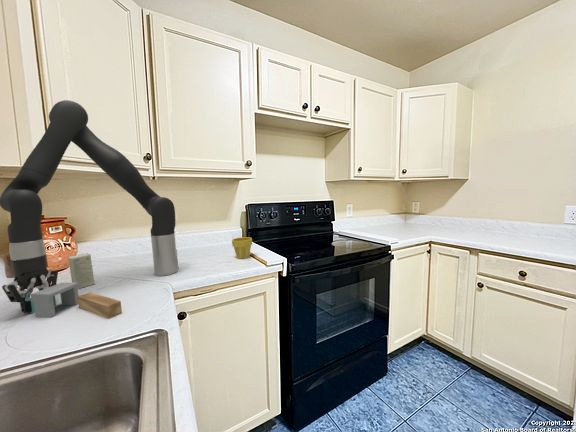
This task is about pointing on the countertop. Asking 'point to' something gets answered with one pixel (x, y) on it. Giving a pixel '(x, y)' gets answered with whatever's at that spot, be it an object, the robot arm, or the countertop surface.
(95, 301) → the rod
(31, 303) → the block
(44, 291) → the tunnel
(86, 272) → the skincare box
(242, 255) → the plant pot
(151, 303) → the countertop surface
